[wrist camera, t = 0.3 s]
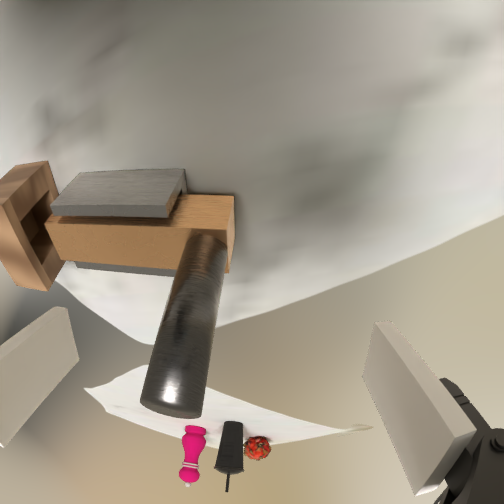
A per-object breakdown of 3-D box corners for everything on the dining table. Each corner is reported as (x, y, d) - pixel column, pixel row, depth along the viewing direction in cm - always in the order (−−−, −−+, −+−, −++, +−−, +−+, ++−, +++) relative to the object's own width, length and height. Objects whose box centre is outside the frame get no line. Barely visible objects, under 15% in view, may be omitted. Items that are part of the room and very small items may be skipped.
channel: (79, 172, 23) (49, 205, 19) (184, 169, 22) (165, 205, 19) (98, 232, 27) (77, 267, 24) (193, 236, 27) (180, 277, 23)
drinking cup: (222, 425, 73) (215, 490, 59) (216, 418, 68) (207, 489, 54) (250, 427, 72) (244, 493, 58) (245, 420, 67) (239, 493, 52)
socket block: (15, 165, 22) (-28, 207, 17) (47, 160, 22) (1, 205, 17) (46, 240, 29) (16, 285, 24) (77, 242, 29) (48, 291, 23)
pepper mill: (186, 428, 81) (177, 485, 67) (182, 423, 76) (172, 484, 62) (208, 432, 81) (201, 489, 67) (206, 427, 76) (198, 488, 62)
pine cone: (251, 436, 88) (259, 424, 81) (271, 451, 84) (281, 440, 78) (235, 452, 82) (242, 442, 75) (255, 467, 78) (265, 459, 72)
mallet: (67, 195, 23) (-27, 336, 12) (233, 195, 22) (194, 401, 11) (80, 230, 25) (5, 367, 14) (234, 237, 25) (206, 423, 14)
